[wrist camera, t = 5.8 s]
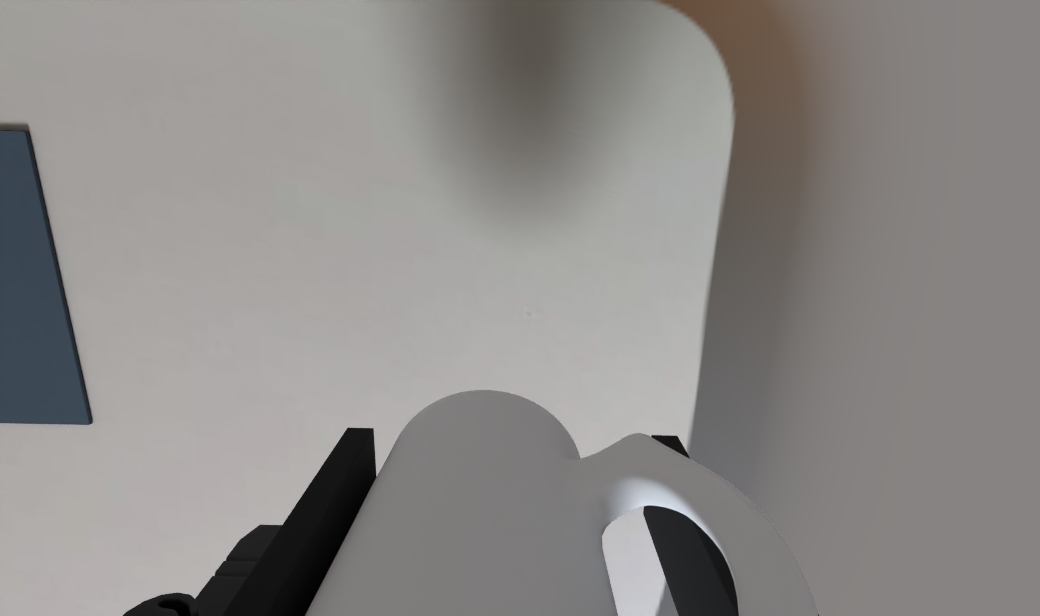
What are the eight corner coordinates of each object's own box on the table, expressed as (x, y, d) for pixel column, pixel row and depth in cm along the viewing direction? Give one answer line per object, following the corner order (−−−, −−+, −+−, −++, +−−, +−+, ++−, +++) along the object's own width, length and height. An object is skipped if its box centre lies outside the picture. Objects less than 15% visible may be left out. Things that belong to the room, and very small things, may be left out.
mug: (458, 592, 18) (333, 1396, 6) (339, 447, 16) (-125, 1150, 5) (718, 456, 16) (1206, 1186, 5) (613, 282, 15) (946, 715, 3)
